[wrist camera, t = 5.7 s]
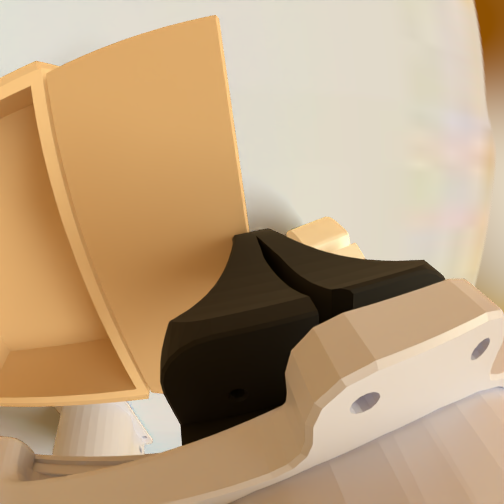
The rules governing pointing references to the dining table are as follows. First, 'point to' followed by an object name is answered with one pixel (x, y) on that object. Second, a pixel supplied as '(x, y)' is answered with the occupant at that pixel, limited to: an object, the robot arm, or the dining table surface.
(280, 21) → the dining table surface
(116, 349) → the carton
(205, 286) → the carton flap
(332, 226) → the letter
